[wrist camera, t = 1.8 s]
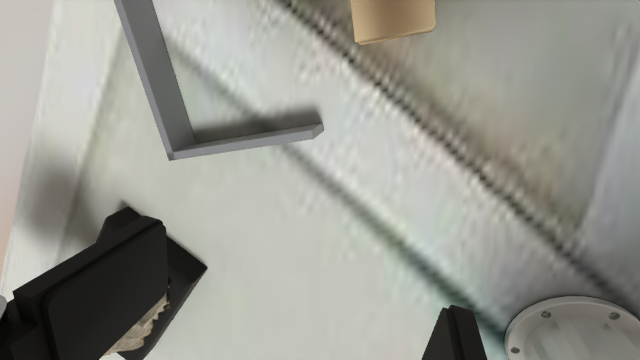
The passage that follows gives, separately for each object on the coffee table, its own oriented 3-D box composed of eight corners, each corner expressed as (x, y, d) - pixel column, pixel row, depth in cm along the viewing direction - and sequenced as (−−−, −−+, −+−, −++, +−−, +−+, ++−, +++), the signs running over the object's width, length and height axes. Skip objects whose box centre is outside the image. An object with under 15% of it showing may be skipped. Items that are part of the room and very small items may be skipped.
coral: (146, 357, 52) (-10, 532, 32) (50, 281, 51) (-166, 411, 32) (212, 271, 42) (44, 450, 22) (94, 175, 41) (-186, 271, 22)
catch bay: (278, -108, 26) (258, -137, 22) (323, 130, 31) (313, 139, 28) (129, -46, 30) (92, -62, 27) (192, 151, 36) (169, 160, 32)
